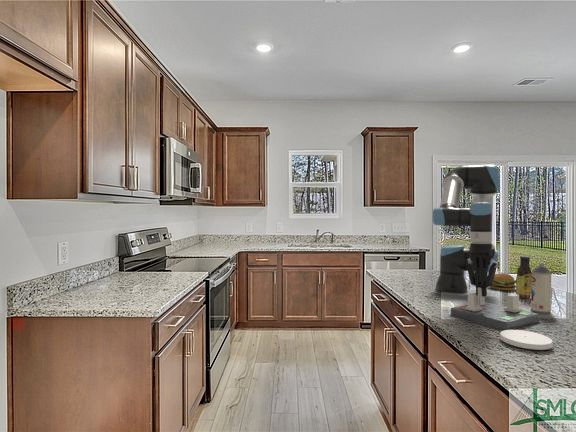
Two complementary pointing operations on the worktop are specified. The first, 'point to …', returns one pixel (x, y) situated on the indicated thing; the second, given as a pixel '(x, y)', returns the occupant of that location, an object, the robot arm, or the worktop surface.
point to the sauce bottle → (524, 278)
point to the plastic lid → (526, 339)
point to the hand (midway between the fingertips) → (481, 304)
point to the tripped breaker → (473, 303)
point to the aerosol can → (541, 290)
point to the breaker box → (496, 316)
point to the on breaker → (512, 303)
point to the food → (503, 282)
